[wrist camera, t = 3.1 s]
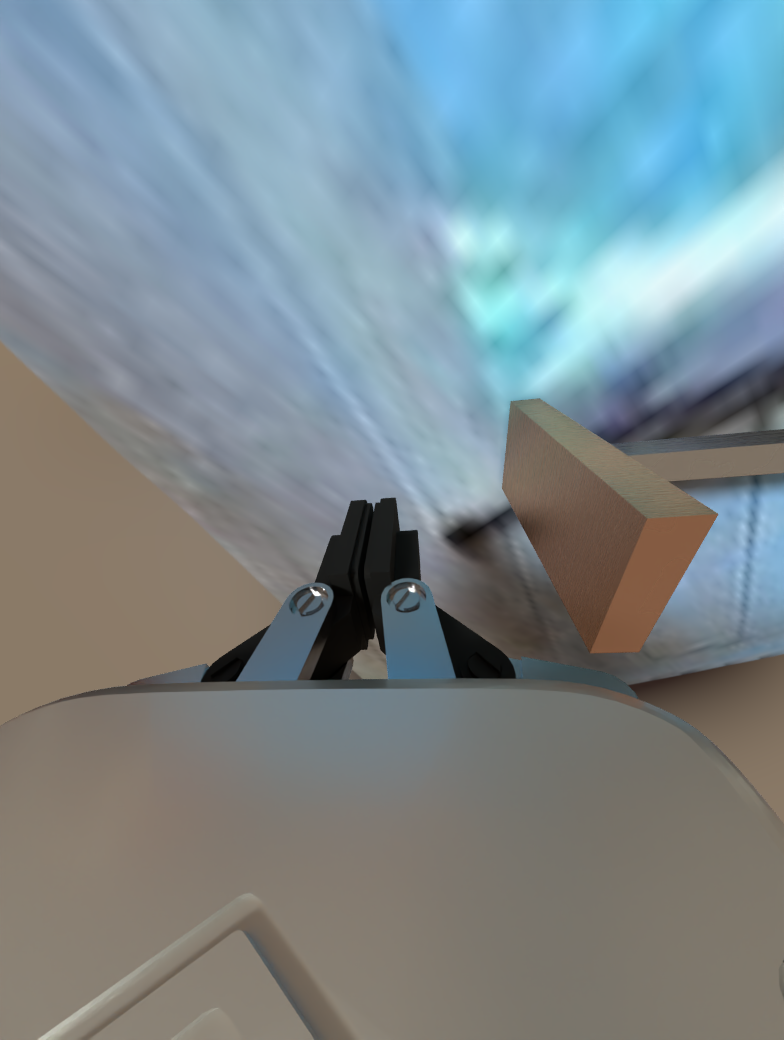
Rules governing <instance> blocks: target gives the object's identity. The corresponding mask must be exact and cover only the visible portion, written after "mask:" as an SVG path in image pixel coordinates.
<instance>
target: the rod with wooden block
mask: <svg viewBox="0 0 784 1040" xmlns="http://www.w3.org/2000/svg"><path fill="white" fill-rule="evenodd" d="M776 473H784V429H781V430H769V431H758V432H746V433H735V434H723V435H711V436H700V437H688V438H677V439H665V440H653V441H642V442H630V443H619V444H609V443H608V442H606V441H605V440H603V439H601V438H600V437H598V436H597V435H595V434H594V433H592V432H591V431H589V430H588V429H586V428H584V427H583V426H581V425H580V424H578V423H577V422H575V421H574V420H572V419H571V418H569V417H567V416H566V415H564V414H563V413H561V412H560V411H558V410H557V409H555V408H553V407H552V406H550V405H549V404H547V403H546V402H544V401H543V400H541V399H540V398H539V399H529V400H519V401H511V403H510V413H509V423H508V433H507V443H506V453H505V463H504V473H503V483H502V489H503V491H504V493H505V495H506V497H507V499H508V501H509V502H510V504H511V506H512V508H513V510H514V512H515V514H516V516H517V517H518V519H519V521H520V523H521V525H522V527H523V529H524V531H525V532H526V534H527V536H528V538H529V540H530V542H531V544H532V546H533V547H534V549H535V551H536V553H537V555H538V557H539V559H540V561H541V562H542V564H543V566H544V568H545V570H546V572H547V574H548V575H549V577H550V579H551V581H552V583H553V585H554V587H555V589H556V590H557V592H558V594H559V596H560V598H561V600H562V602H563V604H564V605H565V607H566V609H567V611H568V613H569V615H570V617H571V619H572V620H573V622H574V624H575V626H576V628H577V630H578V632H579V634H580V635H581V637H582V639H583V641H584V643H585V645H586V647H587V649H588V650H589V652H590V653H624V652H639V651H640V649H641V648H642V646H643V644H644V642H645V641H646V639H647V637H648V636H649V634H650V632H651V630H652V629H653V627H654V625H655V623H656V622H657V620H658V618H659V616H660V615H661V613H662V611H663V610H664V608H665V606H666V604H667V603H668V601H669V599H670V597H671V596H672V594H673V592H674V590H675V589H676V587H677V585H678V583H679V582H680V580H681V578H682V577H683V575H684V573H685V571H686V570H687V568H688V566H689V564H690V563H691V561H692V559H693V557H694V556H695V554H696V552H697V551H698V549H699V547H700V545H701V544H702V542H703V540H704V538H705V537H706V535H707V533H708V531H709V530H710V528H711V526H712V524H713V523H714V521H715V519H716V518H717V516H718V513H716V512H715V511H713V510H711V509H710V508H708V507H707V506H705V505H704V504H702V503H701V502H699V501H697V500H696V499H694V498H693V497H691V496H690V495H688V494H687V493H685V492H684V491H682V490H680V489H679V488H677V487H676V486H674V485H673V484H671V483H670V482H668V481H680V480H694V479H708V478H721V477H735V476H748V475H762V474H776Z"/></svg>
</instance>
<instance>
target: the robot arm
mask: <svg viewBox="0 0 784 1040" xmlns="http://www.w3.org/2000/svg"><path fill="white" fill-rule="evenodd" d="M375 629H376V633H377V638H378V641H379V645H380V650H381V651H382V652H383V653H384V654H385V655H386V659H387V670H388V679H362V680H349V677H350V673H351V670H352V667H353V661H354V660H353V656H355V655H356V654H357V653H358V652H359V651H360V650H367V648H368V640H369V639H374V634H375ZM0 1040H784V823H783V822H782V821H781V819H780V818H779V817H778V816H777V814H776V813H775V812H774V810H772V808H771V807H770V806H769V805H768V803H767V802H766V801H765V799H764V798H763V797H762V796H761V795H760V794H759V792H758V791H757V790H756V789H755V787H754V786H753V785H752V784H751V783H750V782H749V780H748V779H747V778H746V777H745V776H744V775H743V774H742V772H741V771H740V770H739V769H738V768H737V767H736V766H735V765H734V764H733V762H732V761H731V760H730V759H729V758H728V757H727V756H726V755H725V754H724V753H723V752H722V751H721V750H720V749H719V748H718V747H717V746H716V745H715V744H714V743H713V742H711V741H710V740H709V739H708V738H707V737H706V736H704V735H703V734H702V733H701V732H700V731H698V730H697V729H696V728H694V727H693V726H691V725H690V724H688V723H687V722H685V721H684V720H682V719H680V718H679V717H677V716H675V715H673V714H671V713H669V712H667V711H665V710H663V709H661V708H658V707H656V706H654V705H652V704H649V703H647V702H644V701H641V700H639V699H638V697H637V696H636V694H635V692H634V691H633V690H632V689H631V688H629V686H628V685H627V684H626V683H625V682H623V681H621V680H620V679H618V678H617V677H615V676H613V675H610V674H607V673H604V672H601V671H596V670H590V669H585V668H580V667H574V666H569V665H564V664H558V663H553V662H548V661H542V660H537V659H532V658H526V657H521V660H516V659H511V658H508V657H507V656H506V655H505V654H504V653H503V652H502V651H501V650H499V649H498V648H496V647H495V646H493V645H492V644H491V643H489V642H488V641H486V640H485V639H483V638H482V637H480V636H479V635H478V634H476V633H475V632H473V631H472V630H470V629H469V628H467V627H466V626H465V625H463V624H462V623H460V622H459V621H457V620H456V619H455V618H453V617H452V616H450V615H449V614H447V613H446V612H444V611H443V610H442V609H440V608H439V607H437V606H436V605H435V603H434V599H433V596H432V592H431V591H430V589H429V587H428V586H427V585H426V584H425V583H424V582H422V581H421V574H420V556H419V542H418V531H417V530H411V531H400V528H399V520H398V512H397V503H396V498H383V499H381V501H380V503H376V504H375V509H374V511H373V506H372V503H367V501H366V500H357V501H351V503H350V506H349V509H348V512H347V516H346V519H345V522H344V525H343V528H342V532H341V535H333V536H331V538H330V541H329V544H328V547H327V549H326V552H325V555H324V558H323V561H322V564H321V566H320V569H319V572H318V575H317V578H316V581H315V583H309V584H306V585H303V586H301V587H299V588H297V589H296V590H295V591H293V592H292V593H291V594H290V595H289V596H288V598H287V599H286V600H285V602H284V604H283V605H282V607H281V609H280V610H279V612H278V614H277V615H276V617H275V618H274V620H273V622H272V623H271V624H270V625H269V626H267V627H266V628H264V629H263V630H261V631H260V632H258V633H257V634H255V635H254V636H252V637H251V638H249V639H248V640H246V641H245V642H243V643H242V644H240V645H238V646H237V647H236V648H234V649H232V650H231V651H229V652H228V653H226V654H225V655H223V656H222V657H220V658H219V659H218V660H217V661H215V662H214V663H213V664H212V665H211V666H210V667H209V666H208V665H207V664H202V665H198V666H194V667H190V668H186V669H181V670H177V671H173V672H169V673H165V674H160V675H156V676H152V677H148V678H144V679H140V680H137V681H135V682H132V683H130V684H128V685H127V686H120V687H111V688H105V689H100V690H94V691H89V692H84V693H81V694H77V695H73V696H69V697H65V698H62V699H59V700H56V701H53V702H51V703H48V704H45V705H42V706H39V707H37V708H35V709H32V710H30V711H28V712H26V713H24V714H21V715H19V716H18V717H16V718H13V719H11V720H9V721H7V722H5V723H4V724H2V725H1V726H0Z"/></svg>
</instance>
